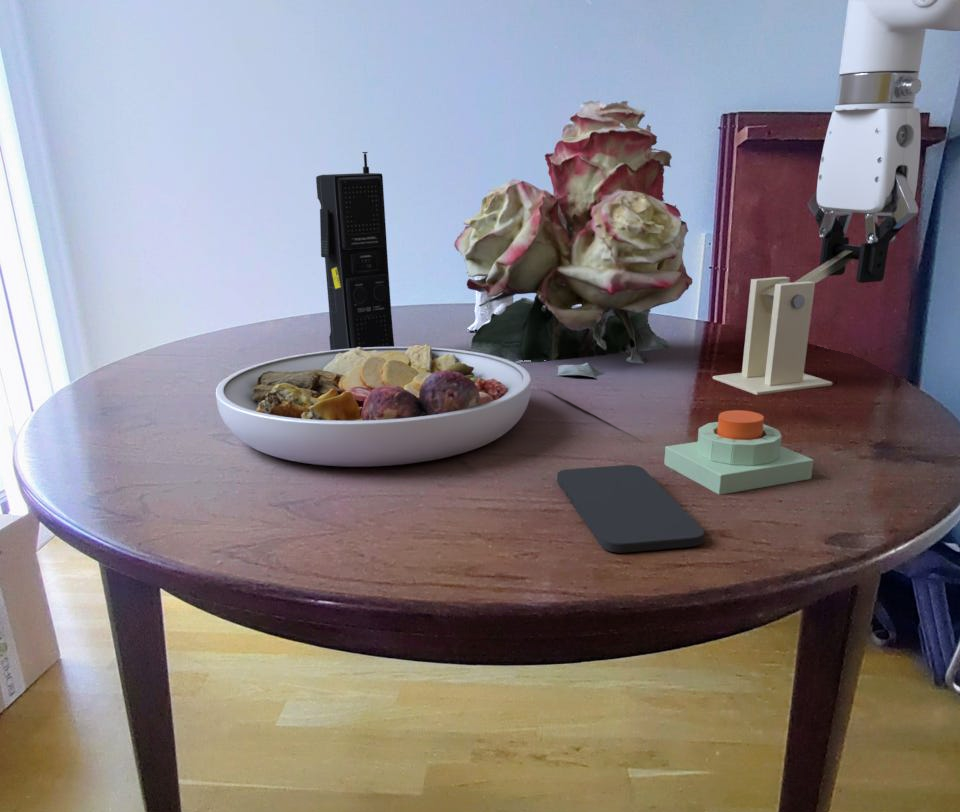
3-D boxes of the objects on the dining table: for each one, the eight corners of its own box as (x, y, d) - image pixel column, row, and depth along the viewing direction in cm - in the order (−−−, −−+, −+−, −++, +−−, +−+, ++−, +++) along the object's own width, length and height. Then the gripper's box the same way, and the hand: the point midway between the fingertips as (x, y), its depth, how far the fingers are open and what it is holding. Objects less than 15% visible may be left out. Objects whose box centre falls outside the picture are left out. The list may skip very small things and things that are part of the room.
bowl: (171, 425, 91) (159, 347, 88) (412, 376, 109) (409, 310, 106) (326, 507, 70) (318, 408, 67) (594, 430, 88) (597, 349, 84)
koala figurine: (460, 334, 132) (458, 249, 127) (463, 326, 138) (461, 244, 134) (517, 334, 132) (518, 248, 127) (518, 325, 138) (518, 243, 133)
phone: (606, 545, 60) (553, 470, 74) (605, 556, 61) (552, 479, 74) (711, 536, 62) (640, 463, 75) (710, 547, 62) (639, 473, 75)
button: (743, 428, 77) (745, 408, 76) (771, 439, 74) (773, 419, 73) (708, 433, 76) (709, 413, 75) (734, 445, 73) (736, 424, 72)
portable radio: (346, 369, 113) (330, 153, 103) (322, 362, 117) (304, 153, 107) (398, 360, 117) (388, 151, 107) (373, 353, 122) (360, 152, 112)
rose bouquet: (433, 364, 115) (423, 103, 103) (588, 332, 132) (595, 106, 121) (583, 402, 97) (592, 92, 85) (739, 359, 115) (764, 97, 103)
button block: (750, 451, 81) (754, 413, 79) (811, 479, 74) (816, 438, 73) (663, 464, 78) (666, 425, 76) (719, 495, 71) (722, 453, 70)
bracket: (783, 377, 106) (795, 273, 101) (831, 392, 99) (847, 282, 94) (711, 386, 102) (720, 279, 98) (755, 403, 96) (768, 289, 91)
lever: (844, 256, 101) (840, 236, 100) (877, 261, 97) (873, 240, 95) (758, 310, 99) (752, 291, 98) (788, 318, 95) (783, 297, 94)
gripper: (973, 90, 86) (938, 286, 93) (844, 98, 101) (823, 267, 108) (912, 90, 83) (881, 291, 91) (790, 98, 98) (771, 271, 105)
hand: (850, 276), depth 99 cm, fingers closed on lever, 5 cm apart
